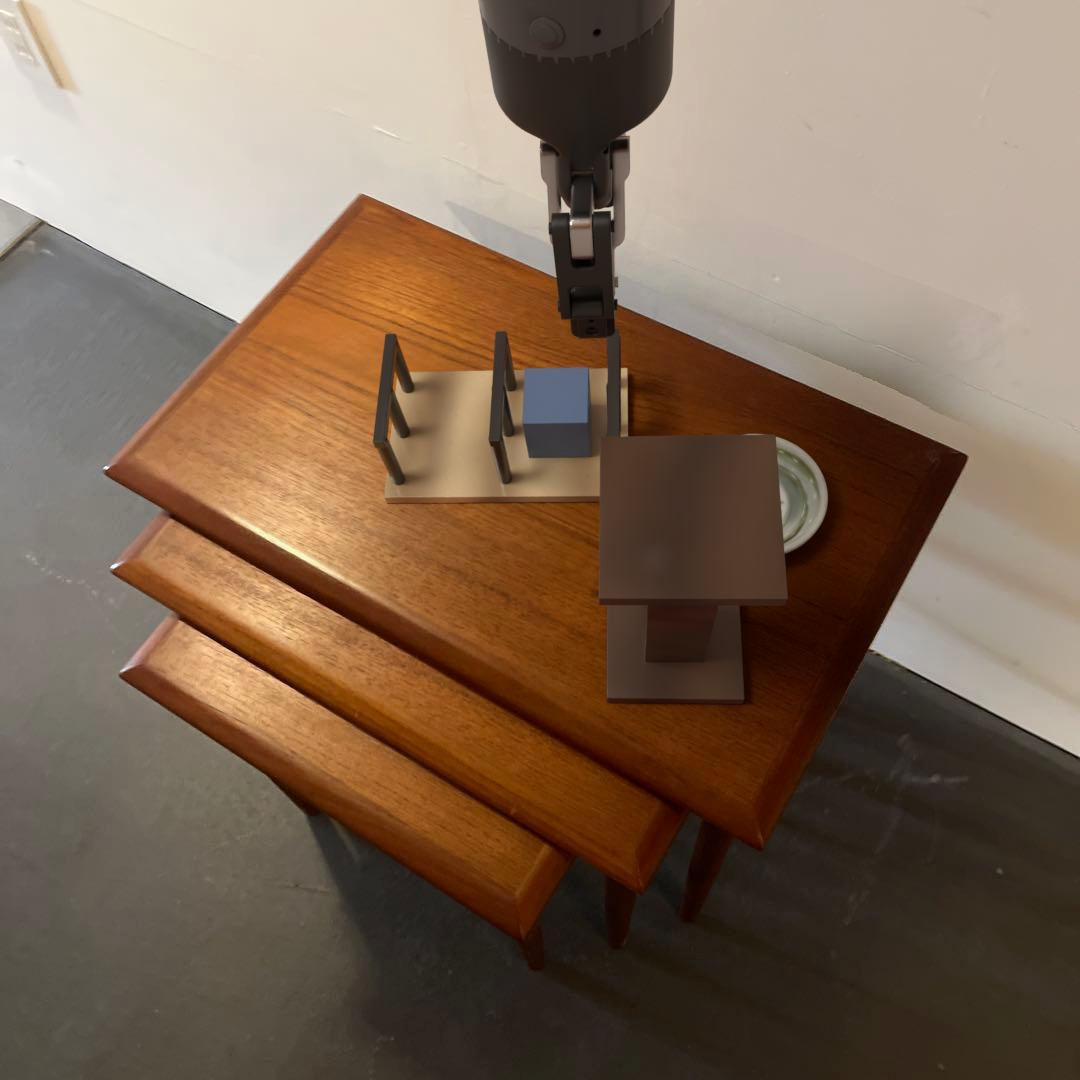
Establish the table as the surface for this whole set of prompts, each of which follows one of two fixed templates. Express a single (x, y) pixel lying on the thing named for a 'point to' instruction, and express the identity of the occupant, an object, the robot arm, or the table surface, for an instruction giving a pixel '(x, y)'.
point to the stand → (686, 561)
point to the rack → (484, 433)
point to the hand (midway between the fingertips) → (595, 265)
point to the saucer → (799, 494)
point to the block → (557, 412)
